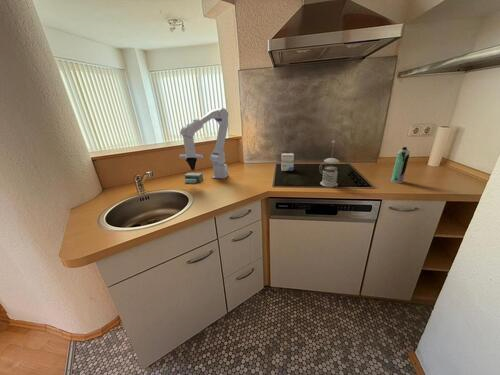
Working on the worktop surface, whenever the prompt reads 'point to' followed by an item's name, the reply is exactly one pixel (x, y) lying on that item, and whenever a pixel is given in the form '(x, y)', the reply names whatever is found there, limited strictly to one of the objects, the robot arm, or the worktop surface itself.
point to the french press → (331, 179)
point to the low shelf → (194, 175)
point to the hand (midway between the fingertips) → (193, 169)
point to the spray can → (400, 165)
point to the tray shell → (191, 180)
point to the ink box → (287, 162)
